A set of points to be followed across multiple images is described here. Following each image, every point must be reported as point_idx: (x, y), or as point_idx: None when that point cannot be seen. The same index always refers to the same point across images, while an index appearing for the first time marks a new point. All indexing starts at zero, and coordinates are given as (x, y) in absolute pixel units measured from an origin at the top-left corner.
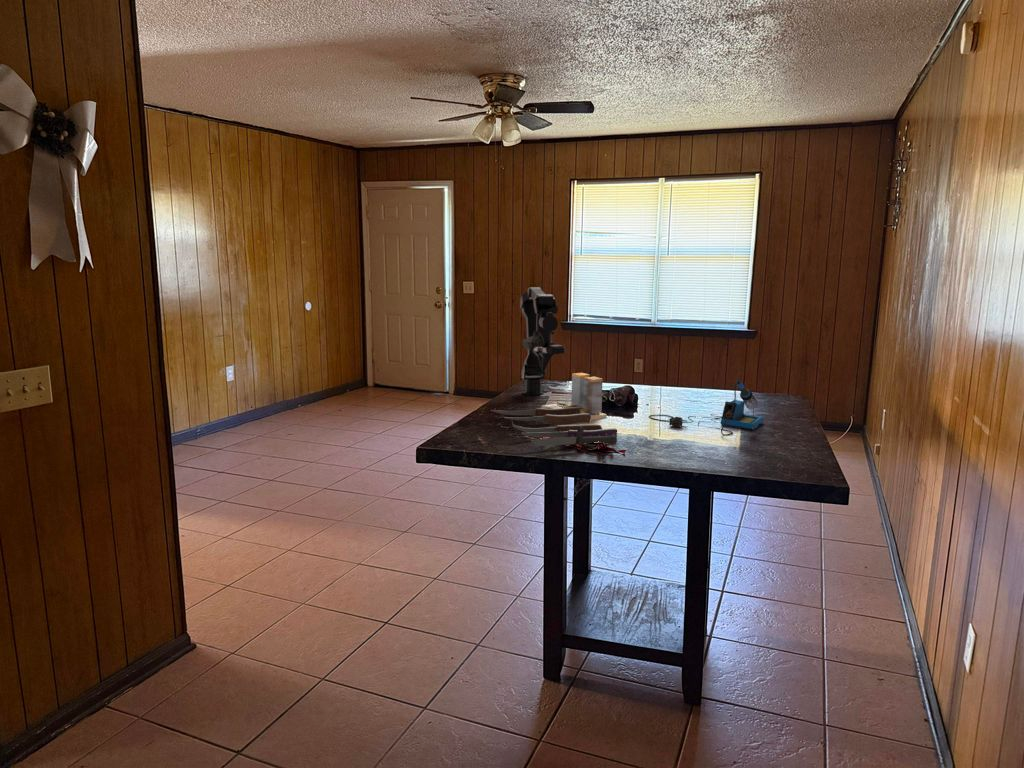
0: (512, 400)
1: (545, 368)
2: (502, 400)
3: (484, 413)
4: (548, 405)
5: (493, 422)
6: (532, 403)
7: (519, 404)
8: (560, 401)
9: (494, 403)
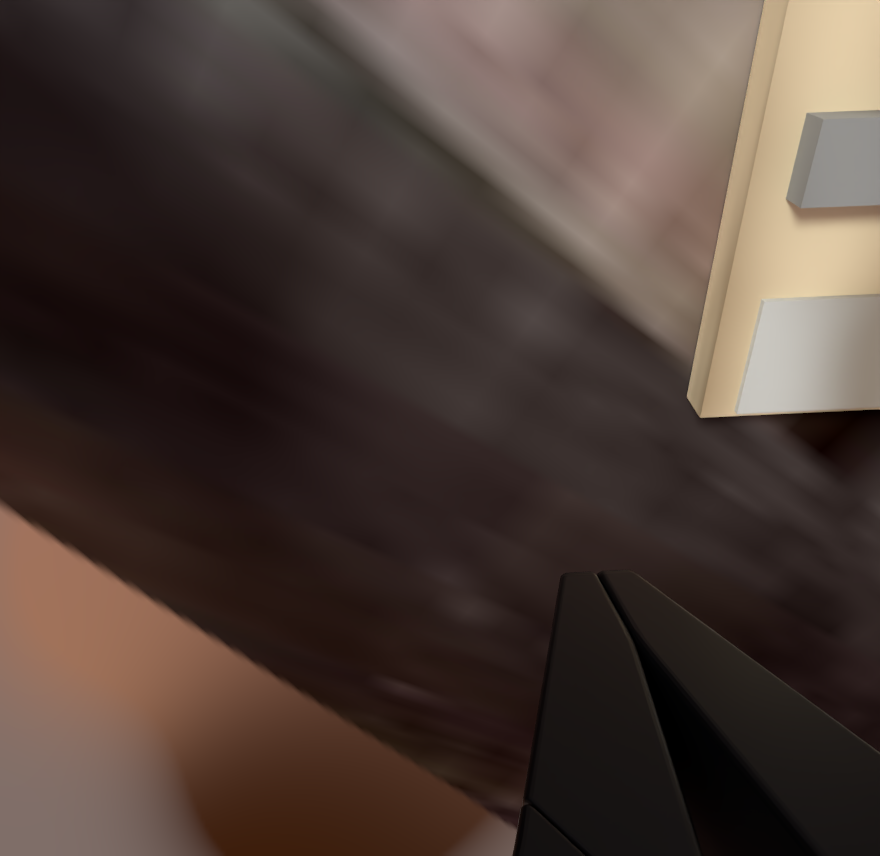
0: (132, 440)
1: (657, 593)
2: (96, 521)
3: (503, 781)
4: (778, 365)
5: None
6: (392, 331)
7: (364, 474)
8: (820, 138)
9: (211, 627)
